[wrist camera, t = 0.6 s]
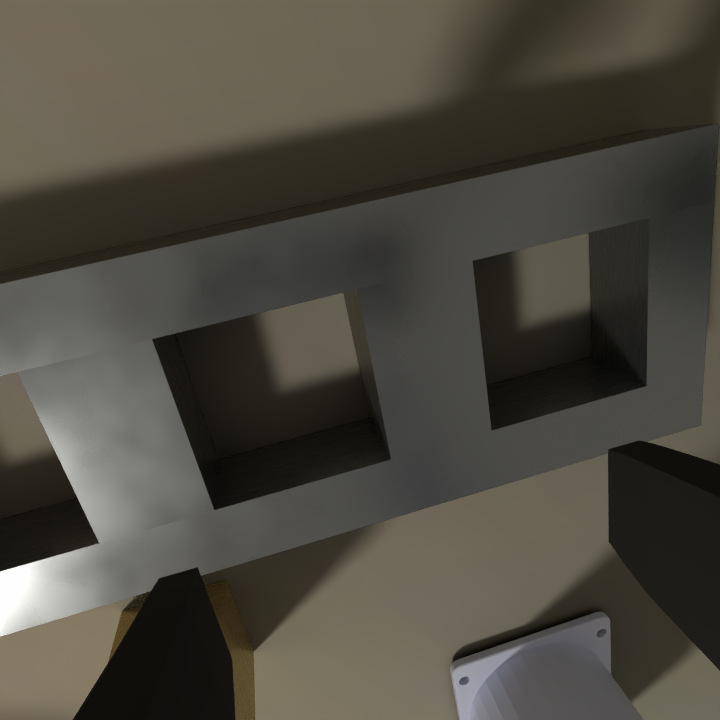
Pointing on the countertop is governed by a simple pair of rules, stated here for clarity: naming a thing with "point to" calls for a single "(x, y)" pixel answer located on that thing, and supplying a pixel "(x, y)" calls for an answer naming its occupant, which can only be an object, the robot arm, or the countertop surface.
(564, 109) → the countertop surface
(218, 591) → the brass peg
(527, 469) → the rail
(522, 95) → the countertop surface
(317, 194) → the countertop surface
